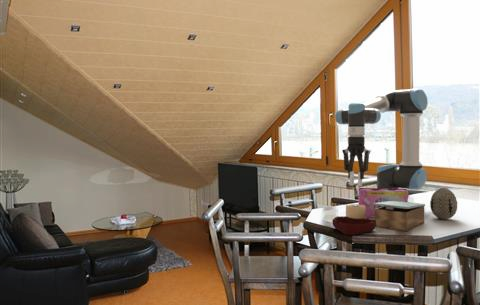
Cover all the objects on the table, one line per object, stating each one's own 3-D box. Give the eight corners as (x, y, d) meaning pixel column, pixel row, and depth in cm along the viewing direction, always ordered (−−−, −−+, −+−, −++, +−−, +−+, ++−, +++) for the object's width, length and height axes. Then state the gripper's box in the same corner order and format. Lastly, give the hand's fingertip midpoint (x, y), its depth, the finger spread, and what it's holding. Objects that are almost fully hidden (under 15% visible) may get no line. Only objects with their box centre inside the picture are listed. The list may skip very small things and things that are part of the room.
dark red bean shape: (326, 234, 176) (326, 222, 176) (336, 226, 191) (336, 215, 191) (370, 239, 168) (370, 226, 168) (377, 230, 183) (377, 218, 182)
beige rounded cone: (342, 220, 202) (342, 205, 202) (351, 217, 209) (351, 203, 208) (360, 223, 196) (360, 207, 196) (368, 220, 203) (368, 205, 202)
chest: (374, 227, 188) (374, 209, 187) (394, 219, 204) (394, 202, 204) (406, 231, 179) (406, 212, 178) (424, 223, 195) (424, 205, 195)
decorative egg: (462, 221, 198) (463, 189, 198) (438, 222, 197) (438, 189, 197) (448, 216, 210) (448, 186, 209) (425, 216, 209) (425, 186, 208)
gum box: (407, 215, 213) (408, 188, 212) (410, 218, 205) (410, 190, 204) (358, 213, 218) (358, 187, 218) (358, 216, 211) (358, 189, 210)
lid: (372, 207, 187) (373, 203, 187) (392, 204, 204) (393, 200, 204) (406, 211, 177) (406, 207, 177) (424, 207, 194) (425, 203, 194)
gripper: (336, 136, 203) (336, 185, 204) (369, 136, 192) (369, 187, 193) (344, 136, 209) (343, 183, 210) (376, 136, 198) (376, 186, 199)
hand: (355, 185), depth 202 cm, fingers open, 3 cm apart
